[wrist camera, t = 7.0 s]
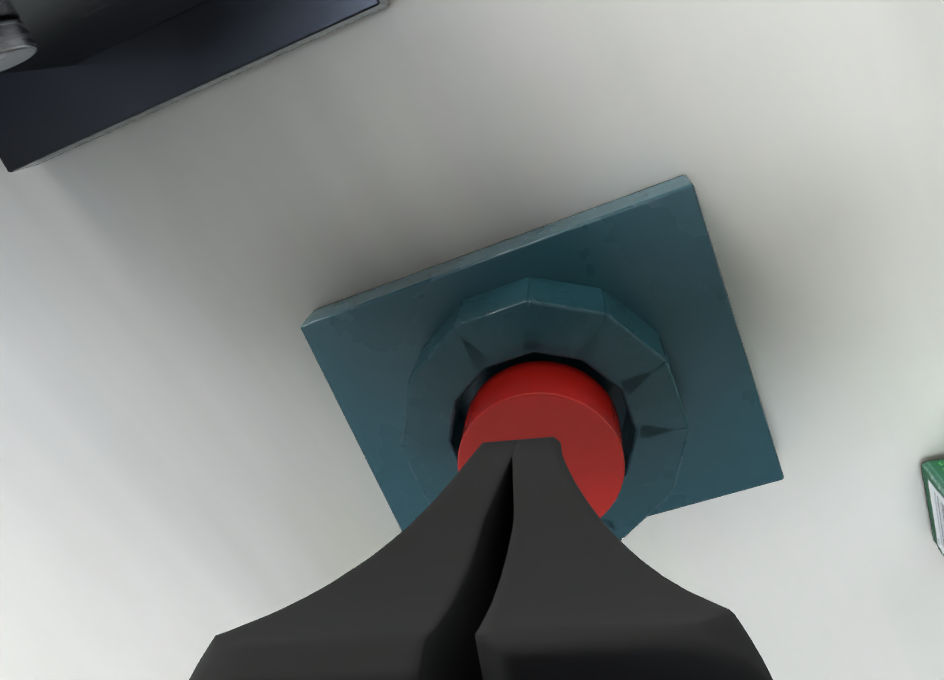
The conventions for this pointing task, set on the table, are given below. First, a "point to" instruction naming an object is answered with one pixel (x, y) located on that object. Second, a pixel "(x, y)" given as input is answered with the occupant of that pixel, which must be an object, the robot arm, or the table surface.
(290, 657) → the robot arm
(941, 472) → the coffee box
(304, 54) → the table surface
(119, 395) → the table surface
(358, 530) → the table surface
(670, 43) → the table surface
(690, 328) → the button box
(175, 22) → the bracket
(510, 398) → the button
